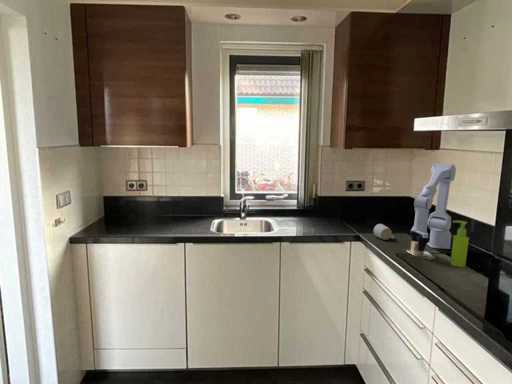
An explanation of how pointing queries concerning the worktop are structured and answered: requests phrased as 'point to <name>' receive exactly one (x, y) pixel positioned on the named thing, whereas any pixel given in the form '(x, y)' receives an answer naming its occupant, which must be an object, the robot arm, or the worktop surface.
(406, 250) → the blue-grey mat
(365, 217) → the worktop surface
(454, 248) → the soap dispenser
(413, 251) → the maple block
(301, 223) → the worktop surface
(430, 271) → the worktop surface
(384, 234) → the ceramic mug
